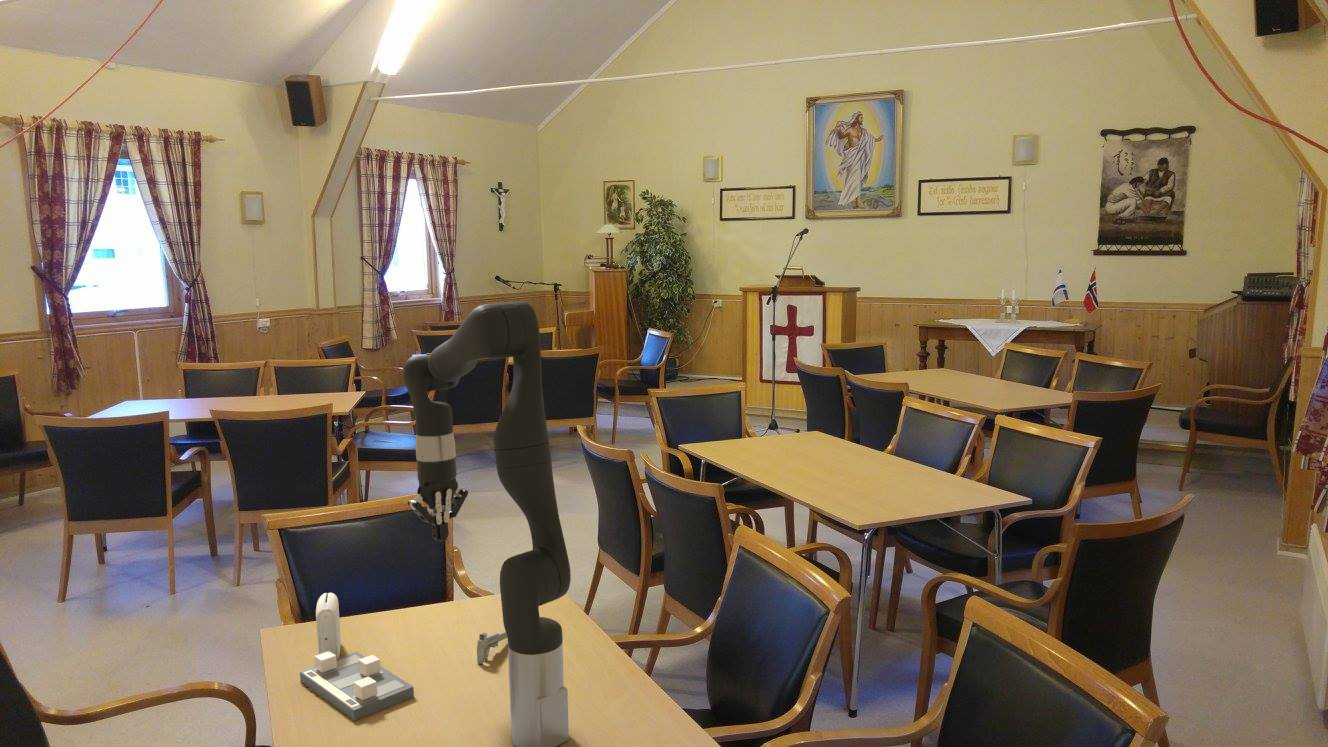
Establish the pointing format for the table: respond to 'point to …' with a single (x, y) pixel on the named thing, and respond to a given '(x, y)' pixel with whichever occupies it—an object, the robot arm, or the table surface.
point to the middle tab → (369, 665)
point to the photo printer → (328, 624)
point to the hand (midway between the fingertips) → (440, 540)
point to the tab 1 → (325, 661)
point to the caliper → (488, 644)
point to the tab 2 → (365, 688)
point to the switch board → (341, 687)
